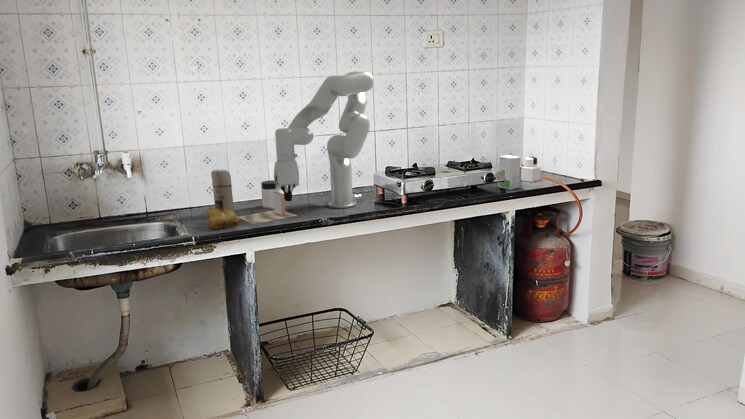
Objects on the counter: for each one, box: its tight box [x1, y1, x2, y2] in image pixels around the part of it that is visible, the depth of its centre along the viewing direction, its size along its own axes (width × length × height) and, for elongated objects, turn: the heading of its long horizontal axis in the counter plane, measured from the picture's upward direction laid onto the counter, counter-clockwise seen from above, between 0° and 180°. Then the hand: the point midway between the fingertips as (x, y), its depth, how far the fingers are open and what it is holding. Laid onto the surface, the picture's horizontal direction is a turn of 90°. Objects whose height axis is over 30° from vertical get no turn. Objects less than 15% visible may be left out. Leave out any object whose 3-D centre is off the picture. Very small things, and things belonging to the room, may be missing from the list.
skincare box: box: [497, 154, 521, 190], centre depth 302 cm, size 8×7×16 cm
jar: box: [260, 179, 281, 209], centre depth 277 cm, size 9×8×12 cm
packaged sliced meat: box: [238, 209, 298, 225], centre depth 258 cm, size 20×16×1 cm
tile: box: [273, 192, 286, 216], centre depth 260 cm, size 2×7×9 cm, turn 36°
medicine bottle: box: [520, 156, 541, 183], centre depth 319 cm, size 7×7×12 cm
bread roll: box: [206, 207, 241, 230], centre depth 248 cm, size 13×10×8 cm
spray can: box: [210, 168, 235, 212], centre depth 267 cm, size 8×8×20 cm
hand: (288, 200), depth 263 cm, fingers closed
